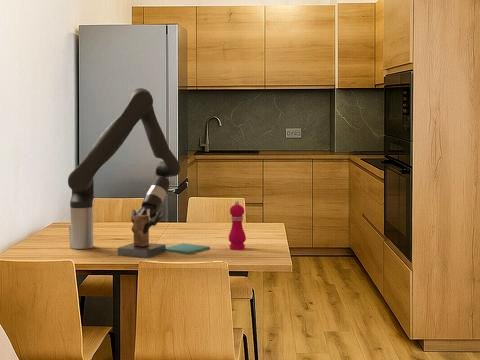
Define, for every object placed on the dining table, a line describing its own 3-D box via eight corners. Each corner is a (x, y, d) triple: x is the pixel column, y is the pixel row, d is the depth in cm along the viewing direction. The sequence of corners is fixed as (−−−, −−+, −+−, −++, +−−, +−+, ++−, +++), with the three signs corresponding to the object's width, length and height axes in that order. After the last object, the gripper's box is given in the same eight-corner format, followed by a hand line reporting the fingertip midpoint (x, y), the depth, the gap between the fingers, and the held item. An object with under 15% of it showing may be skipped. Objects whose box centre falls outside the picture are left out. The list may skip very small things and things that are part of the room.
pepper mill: (237, 250, 315) (237, 202, 313) (224, 248, 320) (224, 201, 318) (249, 248, 320) (249, 200, 319) (236, 246, 325) (236, 199, 323)
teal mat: (162, 250, 316) (162, 248, 316) (183, 245, 328) (183, 243, 328) (188, 254, 308) (188, 251, 308) (209, 248, 320) (209, 246, 320)
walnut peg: (133, 245, 309) (133, 216, 308) (139, 243, 313) (139, 214, 312) (143, 246, 308) (142, 216, 306) (148, 244, 311) (148, 215, 310)
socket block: (117, 255, 307) (117, 247, 307) (136, 249, 320) (136, 242, 320) (147, 258, 301) (147, 250, 301) (165, 251, 314) (165, 244, 314)
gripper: (135, 192, 318) (119, 225, 308) (165, 194, 312) (150, 227, 302) (142, 203, 323) (127, 236, 314) (172, 205, 317) (157, 239, 308)
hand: (138, 232), depth 308 cm, fingers closed on walnut peg, 4 cm apart
